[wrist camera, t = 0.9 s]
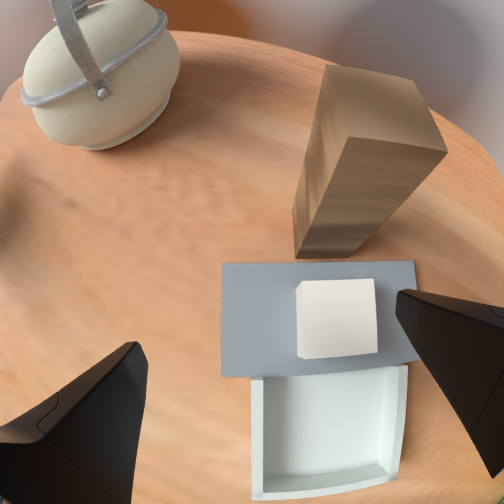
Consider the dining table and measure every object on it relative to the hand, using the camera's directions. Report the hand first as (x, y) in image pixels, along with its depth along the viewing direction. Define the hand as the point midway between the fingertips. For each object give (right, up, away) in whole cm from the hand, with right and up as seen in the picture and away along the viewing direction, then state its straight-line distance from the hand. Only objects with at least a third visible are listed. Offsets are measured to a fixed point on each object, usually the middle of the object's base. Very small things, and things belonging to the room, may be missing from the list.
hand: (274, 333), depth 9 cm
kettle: (-18, +22, +21) cm, 36 cm away
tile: (+5, -2, +11) cm, 12 cm away
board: (+5, -3, +13) cm, 14 cm away
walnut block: (+5, +4, +15) cm, 16 cm away
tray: (+5, -12, +10) cm, 16 cm away
